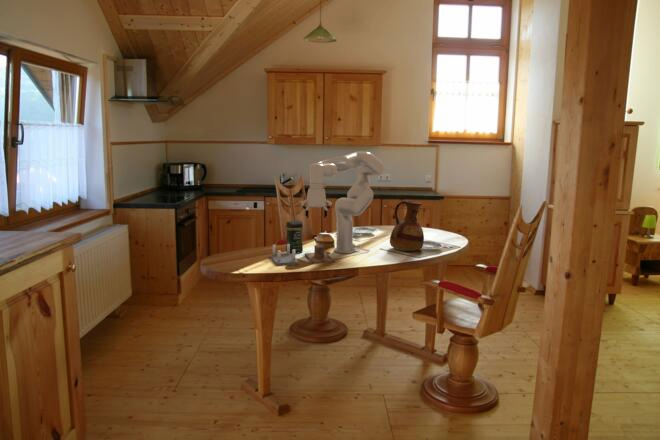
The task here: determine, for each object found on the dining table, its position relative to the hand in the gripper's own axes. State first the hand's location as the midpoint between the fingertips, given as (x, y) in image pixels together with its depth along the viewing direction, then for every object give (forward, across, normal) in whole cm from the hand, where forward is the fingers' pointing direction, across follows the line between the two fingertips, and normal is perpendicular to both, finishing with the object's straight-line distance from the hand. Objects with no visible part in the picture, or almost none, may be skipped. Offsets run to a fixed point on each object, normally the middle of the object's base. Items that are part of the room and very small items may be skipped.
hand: (316, 217), depth 287 cm
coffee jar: (+23, +11, -15) cm, 29 cm away
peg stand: (+23, +18, +4) cm, 30 cm away
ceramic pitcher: (+22, -56, -14) cm, 62 cm away
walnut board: (+23, -2, +1) cm, 24 cm away
